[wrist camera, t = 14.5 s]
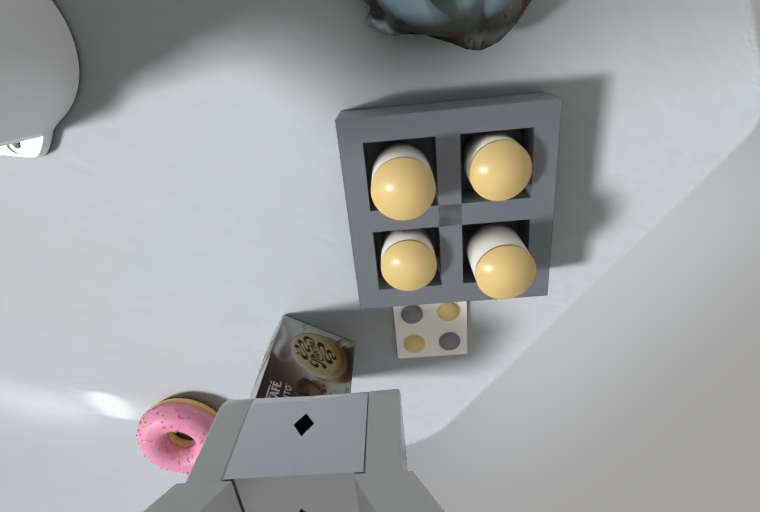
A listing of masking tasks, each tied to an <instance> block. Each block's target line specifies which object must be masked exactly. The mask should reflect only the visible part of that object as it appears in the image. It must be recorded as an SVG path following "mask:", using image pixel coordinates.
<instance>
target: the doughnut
mask: <svg viewBox="0 0 760 512" xmlns="http://www.w3.org/2000/svg"><path fill="white" fill-rule="evenodd" d="M216 415H217V412H216V411H215V410H213V409H212V408H211V407H209V406H207V405H206V404H204V403H201V402H199V401H196V400H192V399H186V398H173V399H168V400H164V401H162V402H159V403H157V404H156V405H154V406H153V407H151V408H150V409H149V410H148V411H147V412H146V413H145V414H144V415H143V416H142V418H141V420H140V422H139V425H138V431H137V435H136V436H137V441H138V444H139V446H140V449H141V450H142V452H143V453H144V455H145V456H146V457H147V458H148V459H149V460H151V462H153V463H155V464H156V465H158V466H160V467H161V468H164V469H167V470H170V471H174V472H180V473H187V475H188V473H190V472H191V470H192V467H193V465H194V463H195V461H196V459H197V456H198V454H199V452H200V450H201V448H202V445H203V443H204V441H205V439H206V437H207V434H208V432H209V430H210V428H211V426H212V423H213V421H214V419H215V417H216ZM173 432H174V433H175V432H176V433H177V432H179V433H185V434H187V435H189V436H190V437H192V438H193V439H194V440H186V439H183V438H180V437H178V436H177V435H175V434H174V433H173ZM185 436H186V435H185ZM161 468H160V469H161Z"/></svg>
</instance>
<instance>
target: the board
mask: <svg viewBox="0 0 760 512" xmlns="http://www.w3.org/2000/svg"><path fill="white" fill-rule="evenodd" d="M561 105H562V99H561V98H559V97H556V96H553V95H551V94H548V93H545V92H543V91H542V92H532V93H522V94H511V95H501V96H491V97H481V98H470V99H460V100H450V101H440V102H429V103H419V104H409V105H398V106H388V107H378V108H368V109H357V110H347V111H341V112H340V113H339V115H338V117H337V118H336V120H335V122H336V130H337V137H338V145H339V152H340V160H341V167H342V175H343V182H344V189H345V197H346V204H347V212H348V219H349V227H350V234H351V242H352V249H353V257H354V264H355V272H356V279H357V286H358V294H359V301H360V309H369V308H382V307H396V306H410V305H423V304H437V303H450V302H464V301H477V300H491V299H495V298H492V297H490V296H488V295H486V294H485V293H483V292H482V291H481V289H480V288H479V286H478V284H477V282H476V279H475V276H474V274H473V271H472V268H471V265H470V262H469V260H468V257H467V251H466V249H467V243H468V241H469V239H470V237H471V236H472V234H473V233H474V232H475V231H476V230H478V229H479V228H481V227H483V226H485V225H488V224H495V223H498V224H504V225H507V226H509V227H511V228H512V229H513V230H514V231H515V232H516V233H517V234H518V236H519V238H520V239H521V241H522V242H523V244H524V245H525V247H526V248H527V250H528V251H529V253H530V255H531V256H532V258H533V259H534V261H535V264H536V276H535V279H534V281H533V283H532V285H531V286H530V287H529V288H528V289H527V290H526V291H525V292H524V293H522V294H521V295H519V296H517V297H514V298H518V297H532V296H545V295H547V294H548V280H549V267H550V253H551V240H552V226H553V213H554V199H555V186H556V172H557V159H558V145H559V132H560V118H561ZM498 130H501V131H503V132H505V133H507V134H508V135H509V136H510V137H511V138H513V139H514V140H515V141H516V142H517V143H519V144H520V145H521V146H522V147H523V148H524V149H525V150H526V151H527V152H528V154H529V156H530V158H531V162H532V173H531V177H530V180H529V182H528V184H527V185H526V187H525V188H524V189H523V190H522V191H521V192H520V193H519V194H517V195H516V196H514V197H512V198H510V199H507V200H503V201H492V200H488V199H485V198H483V197H482V196H480V195H479V194H478V193H477V192H476V191H475V190H474V188H473V186H472V184H471V183H470V181H469V179H468V177H467V175H466V174H465V172H464V170H463V168H462V164H461V153H462V149H463V147H464V145H465V143H466V142H467V140H468V139H469V138H470V137H471V136H472V135H474V134H475V133H477V132H487V131H498ZM399 143H404V144H410V145H413V146H415V147H417V148H418V149H420V150H421V151H422V152H423V153H424V154H425V156H426V157H427V159H428V161H429V164H430V167H431V170H432V174H433V177H434V180H435V184H436V193H435V197H434V200H433V202H432V204H431V206H430V207H429V208H428V210H427V211H426V212H425V213H423V214H422V215H420V216H419V217H417V218H414V219H411V220H402V221H401V220H395V219H391V218H389V217H387V216H385V215H384V214H382V213H381V212H380V211H379V210H378V209H377V207H376V206H375V204H374V202H373V200H372V197H371V181H372V171H373V165H374V162H375V160H376V158H377V156H378V155H379V154H380V153H381V151H383V150H384V149H385V148H387V147H389V146H391V145H394V144H399ZM418 228H426V229H427V230H428V231H429V233H430V235H431V239H432V243H433V248H434V253H435V257H436V262H437V269H436V273H435V276H434V277H433V279H432V280H431V281H430V283H428V284H427V285H426V286H424V287H423V288H421V289H418V290H414V291H403V290H399V289H396V288H394V287H392V286H391V285H390V284H388V283H387V281H386V280H385V279H384V277H383V275H382V272H381V243H382V237H383V235H384V233H385V231H394V230H406V229H418Z"/></svg>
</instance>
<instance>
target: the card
mask: <svg viewBox="0 0 760 512" xmlns="http://www.w3.org/2000/svg"><path fill="white" fill-rule="evenodd" d="M393 312H394V322H395V332H396V343H397V353H398V359H401V358H415V357H430V356H445V355H460V354H467V301H464V302H450V303H437V304H423V305H410V306H396V307H393Z"/></svg>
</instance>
